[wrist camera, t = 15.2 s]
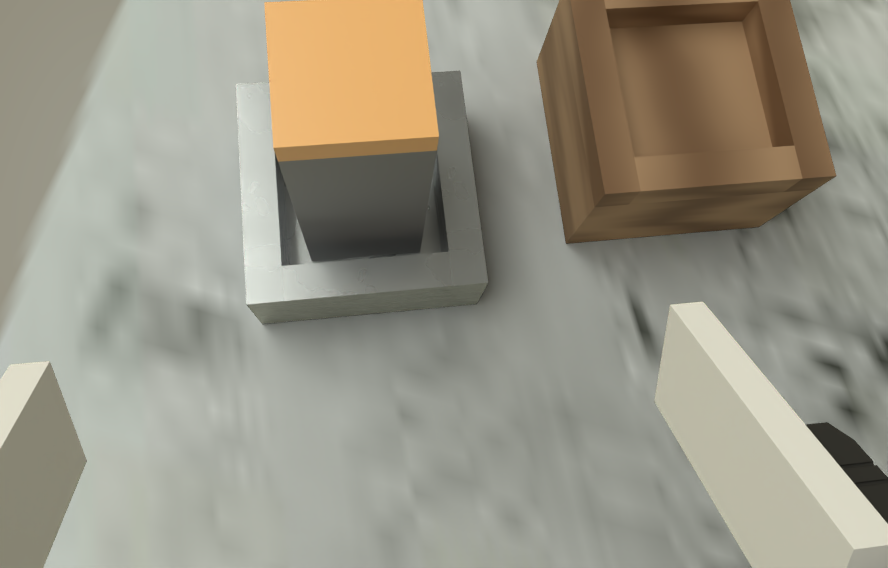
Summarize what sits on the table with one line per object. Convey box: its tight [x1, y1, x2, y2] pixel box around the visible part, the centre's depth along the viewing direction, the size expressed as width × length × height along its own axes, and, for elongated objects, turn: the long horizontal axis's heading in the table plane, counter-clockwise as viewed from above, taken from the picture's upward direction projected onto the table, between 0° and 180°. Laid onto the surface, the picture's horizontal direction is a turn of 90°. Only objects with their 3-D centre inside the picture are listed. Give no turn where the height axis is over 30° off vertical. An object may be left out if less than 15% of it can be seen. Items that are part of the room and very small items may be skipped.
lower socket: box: [236, 71, 488, 324], centre depth 33 cm, size 10×10×4 cm
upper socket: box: [537, 0, 836, 243], centre depth 34 cm, size 10×10×6 cm
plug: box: [264, 0, 439, 261], centre depth 28 cm, size 5×5×12 cm
